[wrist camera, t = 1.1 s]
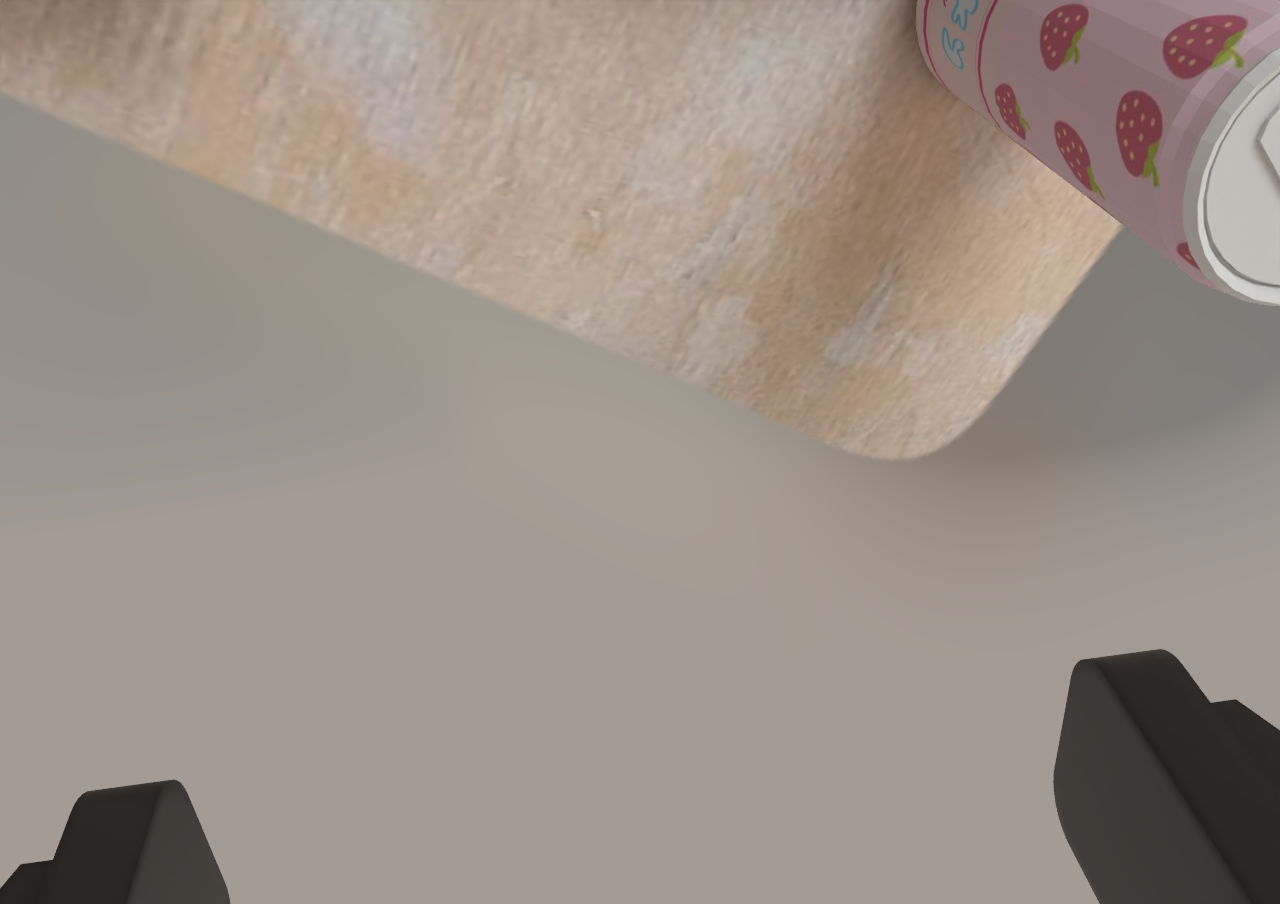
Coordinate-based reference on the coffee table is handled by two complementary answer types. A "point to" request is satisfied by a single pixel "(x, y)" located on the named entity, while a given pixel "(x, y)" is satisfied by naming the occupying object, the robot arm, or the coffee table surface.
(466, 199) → the coffee table surface
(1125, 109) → the beverage can
